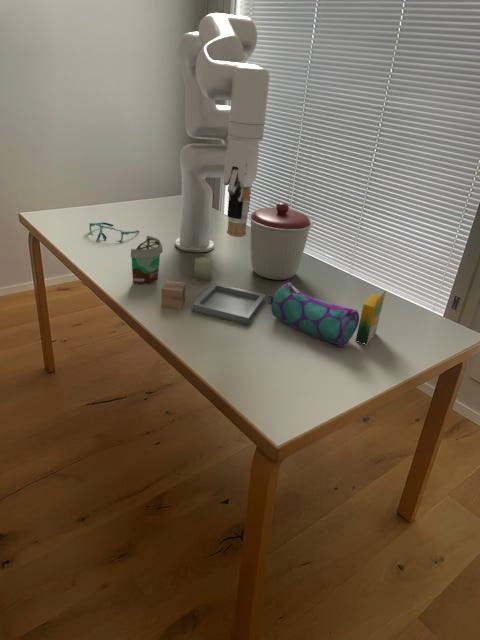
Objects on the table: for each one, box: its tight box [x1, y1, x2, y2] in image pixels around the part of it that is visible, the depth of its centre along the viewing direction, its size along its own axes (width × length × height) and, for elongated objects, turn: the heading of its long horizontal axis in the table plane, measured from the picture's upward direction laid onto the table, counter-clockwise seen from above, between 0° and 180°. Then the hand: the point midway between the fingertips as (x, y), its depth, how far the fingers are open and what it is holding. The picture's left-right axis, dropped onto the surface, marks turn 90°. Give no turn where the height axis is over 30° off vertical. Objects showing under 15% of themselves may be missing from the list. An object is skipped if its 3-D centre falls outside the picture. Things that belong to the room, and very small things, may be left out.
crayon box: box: [355, 289, 387, 345], centre depth 116 cm, size 7×3×12 cm, turn 150°
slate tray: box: [191, 282, 267, 326], centre depth 125 cm, size 14×14×2 cm
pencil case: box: [266, 282, 360, 348], centre depth 117 cm, size 21×9×10 cm, turn 50°
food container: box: [130, 235, 164, 285], centre depth 134 cm, size 12×6×10 cm, turn 168°
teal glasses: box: [89, 221, 140, 243], centre depth 164 cm, size 14×15×5 cm
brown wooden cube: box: [160, 280, 187, 310], centre depth 123 cm, size 5×5×5 cm
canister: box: [248, 202, 314, 281], centre depth 143 cm, size 18×18×21 cm
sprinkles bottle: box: [226, 179, 252, 238], centre depth 114 cm, size 5×5×14 cm
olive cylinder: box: [193, 256, 214, 282], centre depth 139 cm, size 5×5×5 cm
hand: (238, 214), depth 115 cm, fingers closed on sprinkles bottle, 4 cm apart
